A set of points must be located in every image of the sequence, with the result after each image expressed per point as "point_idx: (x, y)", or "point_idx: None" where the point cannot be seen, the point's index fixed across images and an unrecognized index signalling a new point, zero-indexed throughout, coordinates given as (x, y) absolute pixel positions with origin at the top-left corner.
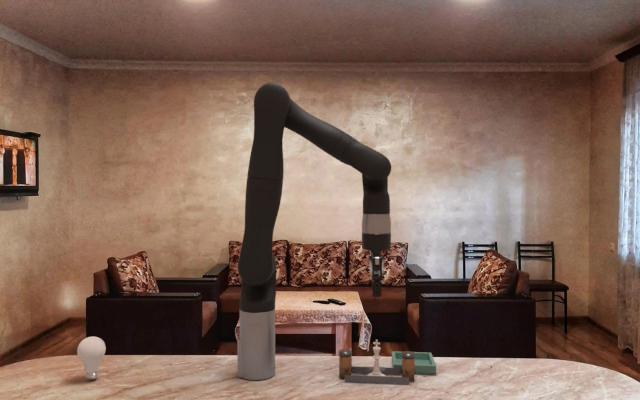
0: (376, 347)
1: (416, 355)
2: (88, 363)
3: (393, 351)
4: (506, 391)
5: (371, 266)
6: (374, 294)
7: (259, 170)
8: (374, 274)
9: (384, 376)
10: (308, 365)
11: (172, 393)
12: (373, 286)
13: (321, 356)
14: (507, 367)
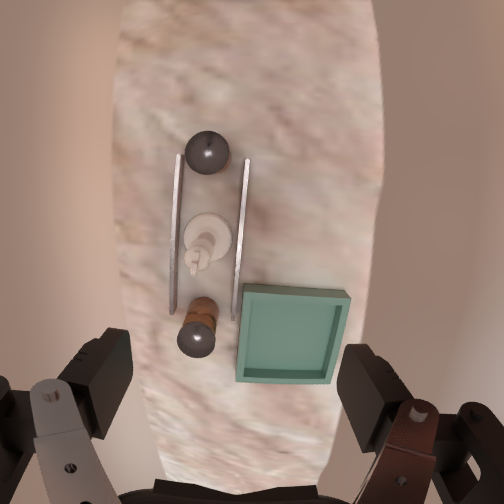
0: (190, 258)
1: (330, 351)
2: None
3: (349, 302)
4: (166, 443)
5: (51, 499)
6: (92, 341)
7: None
8: (387, 431)
9: (172, 257)
10: (306, 67)
11: None
12: (82, 367)
13: (376, 107)
14: (277, 467)
